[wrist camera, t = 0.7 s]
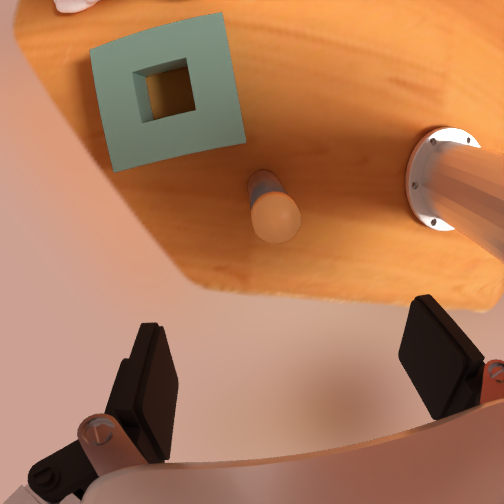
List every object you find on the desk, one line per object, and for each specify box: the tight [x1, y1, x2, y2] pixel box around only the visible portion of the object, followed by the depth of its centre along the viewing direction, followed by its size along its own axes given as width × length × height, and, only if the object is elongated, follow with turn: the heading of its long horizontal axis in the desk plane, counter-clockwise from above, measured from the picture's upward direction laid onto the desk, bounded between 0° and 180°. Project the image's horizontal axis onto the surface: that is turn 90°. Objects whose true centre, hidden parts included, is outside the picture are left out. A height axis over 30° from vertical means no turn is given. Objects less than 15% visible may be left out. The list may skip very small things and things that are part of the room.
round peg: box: [247, 170, 301, 244], centre depth 27 cm, size 3×3×11 cm
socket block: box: [90, 12, 246, 173], centre depth 26 cm, size 12×12×4 cm
